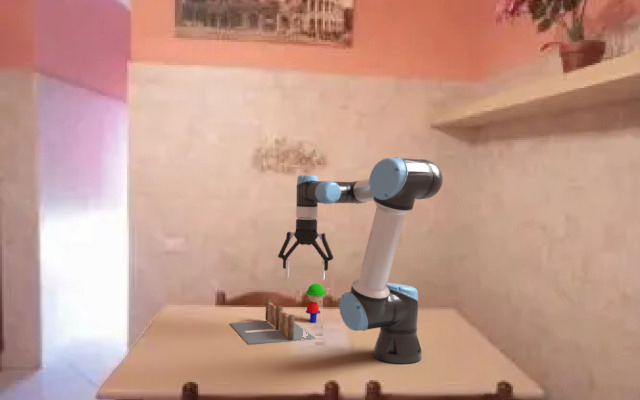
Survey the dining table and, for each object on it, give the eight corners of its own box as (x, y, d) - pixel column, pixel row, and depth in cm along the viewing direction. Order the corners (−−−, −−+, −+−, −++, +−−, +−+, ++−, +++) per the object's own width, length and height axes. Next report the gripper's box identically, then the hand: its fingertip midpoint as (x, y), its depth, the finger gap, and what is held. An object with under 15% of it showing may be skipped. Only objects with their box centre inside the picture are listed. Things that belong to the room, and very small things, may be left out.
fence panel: (277, 329, 208) (277, 307, 208) (282, 329, 209) (283, 307, 208) (288, 339, 196) (289, 316, 196) (294, 338, 197) (295, 315, 196)
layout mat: (315, 338, 200) (315, 337, 200) (248, 344, 191) (248, 343, 191) (289, 319, 226) (289, 318, 226) (229, 324, 217) (229, 322, 217)
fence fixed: (282, 331, 209) (283, 306, 209) (276, 331, 208) (277, 307, 208) (270, 320, 224) (270, 298, 223) (264, 321, 223) (264, 298, 222)
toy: (325, 324, 221) (326, 285, 220) (304, 323, 221) (305, 285, 220) (325, 319, 229) (326, 282, 228) (305, 318, 229) (306, 281, 228)
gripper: (341, 219, 205) (340, 278, 206) (275, 216, 209) (274, 275, 209) (339, 220, 198) (338, 282, 198) (270, 218, 201) (269, 278, 202)
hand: (305, 278), depth 204 cm, fingers open, 12 cm apart
